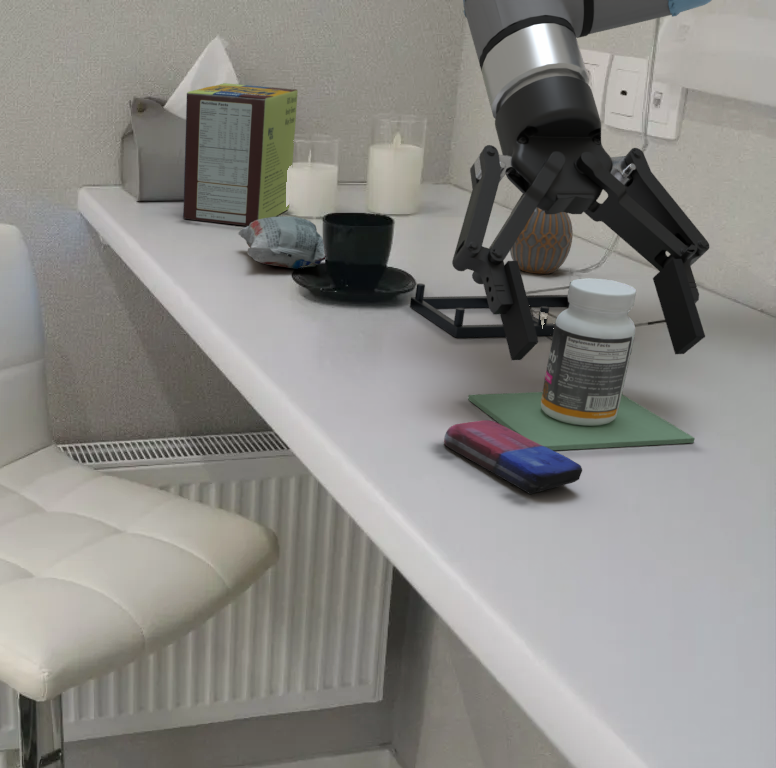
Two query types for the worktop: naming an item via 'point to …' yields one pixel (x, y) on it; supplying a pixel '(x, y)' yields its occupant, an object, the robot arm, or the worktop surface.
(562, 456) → the eraser
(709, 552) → the worktop surface
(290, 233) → the packaged food
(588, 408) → the pill bottle
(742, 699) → the worktop surface
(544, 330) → the black rectangular frame
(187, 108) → the protein box
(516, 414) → the mat
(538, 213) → the vase
